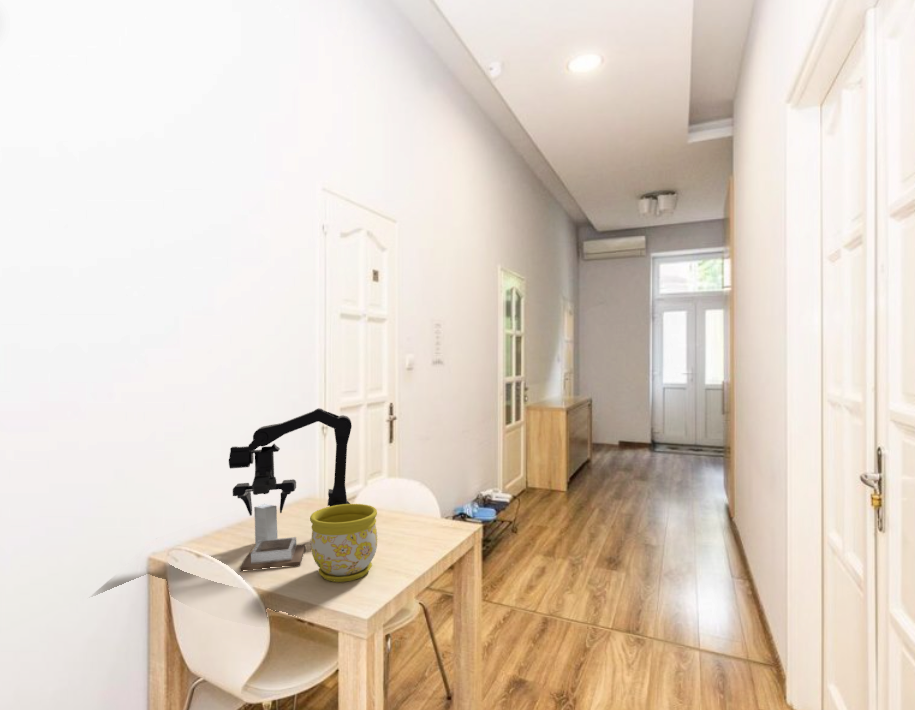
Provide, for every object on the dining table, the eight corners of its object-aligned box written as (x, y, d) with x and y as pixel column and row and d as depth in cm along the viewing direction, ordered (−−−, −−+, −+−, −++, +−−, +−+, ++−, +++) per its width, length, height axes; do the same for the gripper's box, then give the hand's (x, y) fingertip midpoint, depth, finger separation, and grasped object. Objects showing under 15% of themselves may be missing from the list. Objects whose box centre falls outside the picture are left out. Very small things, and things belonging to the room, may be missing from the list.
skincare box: (278, 542, 165) (277, 505, 165) (267, 547, 161) (266, 509, 161) (265, 539, 168) (264, 503, 168) (254, 543, 164) (253, 506, 164)
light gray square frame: (296, 546, 157) (296, 537, 157) (291, 560, 146) (291, 550, 146) (258, 550, 155) (258, 540, 155) (251, 564, 144) (250, 553, 144)
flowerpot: (348, 592, 128) (346, 527, 128) (297, 579, 136) (295, 518, 136) (391, 565, 143) (390, 507, 143) (343, 555, 152) (341, 500, 152)
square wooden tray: (305, 548, 159) (305, 544, 159) (300, 565, 145) (299, 561, 145) (251, 553, 156) (251, 549, 156) (240, 571, 142) (240, 567, 142)
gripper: (227, 473, 155) (228, 524, 155) (291, 469, 158) (292, 519, 158) (236, 466, 166) (237, 513, 166) (295, 462, 169) (297, 508, 169)
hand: (266, 514), depth 165 cm, fingers open, 9 cm apart
